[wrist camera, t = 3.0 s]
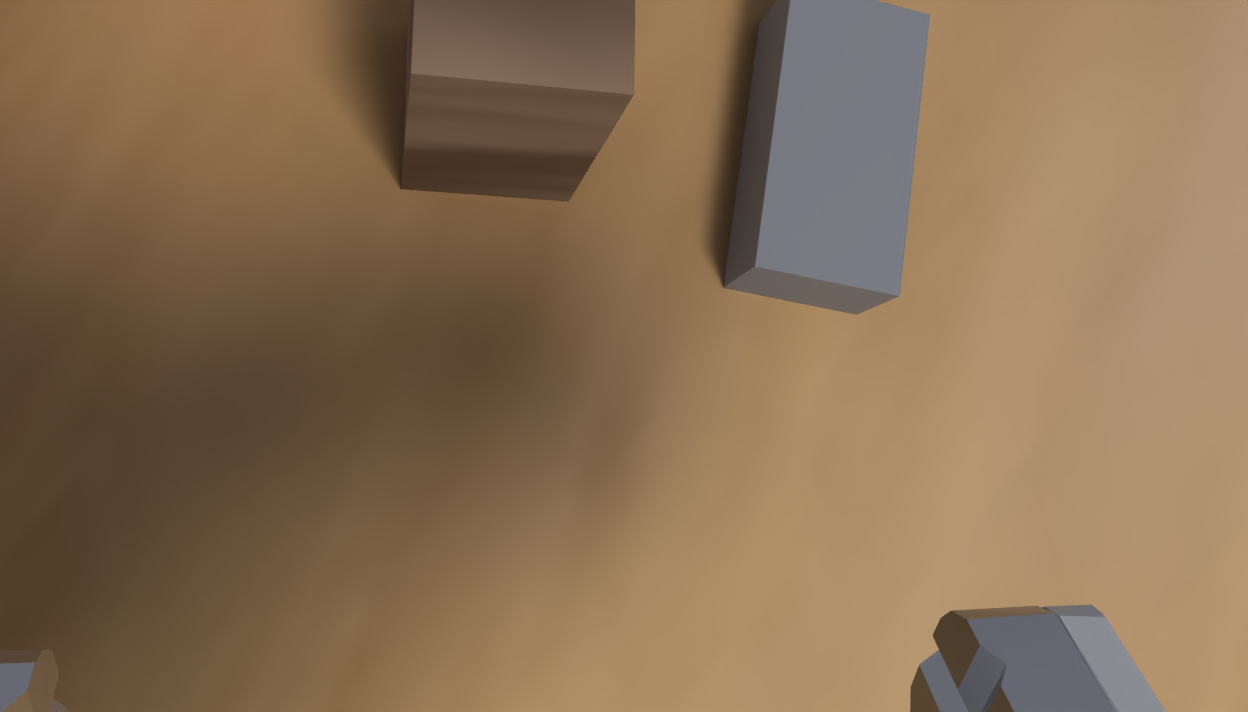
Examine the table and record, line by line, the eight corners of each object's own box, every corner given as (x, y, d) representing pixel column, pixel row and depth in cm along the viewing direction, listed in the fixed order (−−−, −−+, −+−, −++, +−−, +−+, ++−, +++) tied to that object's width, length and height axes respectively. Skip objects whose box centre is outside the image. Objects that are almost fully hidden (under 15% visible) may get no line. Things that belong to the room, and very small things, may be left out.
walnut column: (568, 201, 31) (633, 94, 23) (400, 188, 30) (411, 73, 22) (571, 45, 32) (636, -109, 24) (407, 28, 31) (420, -138, 23)
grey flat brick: (852, 316, 33) (899, 296, 30) (720, 289, 32) (755, 266, 29) (882, 57, 34) (929, 14, 31) (756, 26, 33) (792, -21, 31)
